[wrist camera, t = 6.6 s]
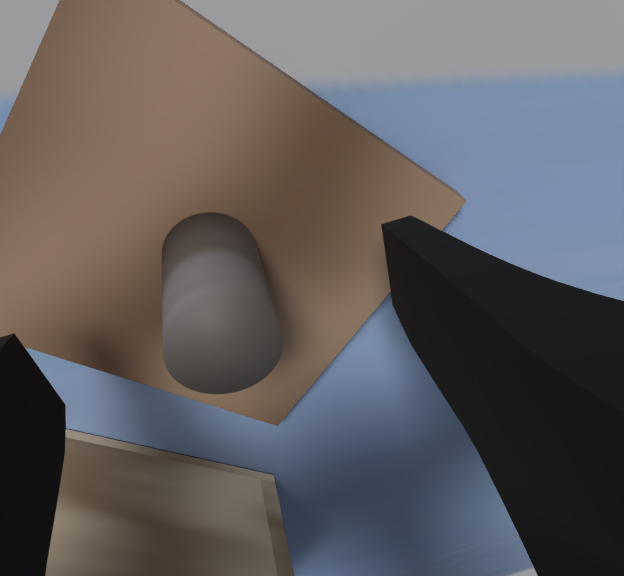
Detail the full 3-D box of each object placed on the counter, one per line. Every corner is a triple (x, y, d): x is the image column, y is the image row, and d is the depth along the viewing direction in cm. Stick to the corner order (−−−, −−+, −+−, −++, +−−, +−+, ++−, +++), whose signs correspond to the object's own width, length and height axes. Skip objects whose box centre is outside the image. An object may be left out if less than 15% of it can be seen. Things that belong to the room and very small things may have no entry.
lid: (-63, 286, 13) (-149, 436, 10) (93, -64, 10) (55, -43, 6) (271, 399, 18) (301, 529, 14) (447, 183, 15) (544, 277, 11)
